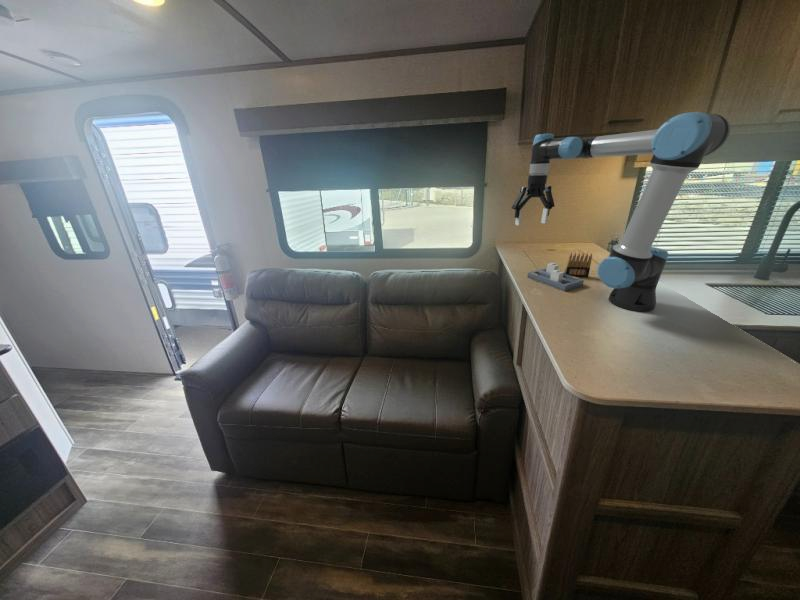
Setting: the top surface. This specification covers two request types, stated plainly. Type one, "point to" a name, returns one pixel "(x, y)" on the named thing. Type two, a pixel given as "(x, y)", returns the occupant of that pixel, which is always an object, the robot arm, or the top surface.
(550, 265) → the tab
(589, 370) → the top surface
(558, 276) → the tab
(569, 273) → the ammunition clip
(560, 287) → the switch bank
